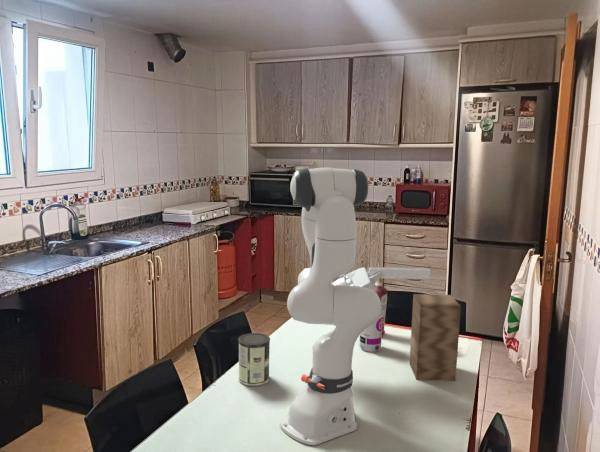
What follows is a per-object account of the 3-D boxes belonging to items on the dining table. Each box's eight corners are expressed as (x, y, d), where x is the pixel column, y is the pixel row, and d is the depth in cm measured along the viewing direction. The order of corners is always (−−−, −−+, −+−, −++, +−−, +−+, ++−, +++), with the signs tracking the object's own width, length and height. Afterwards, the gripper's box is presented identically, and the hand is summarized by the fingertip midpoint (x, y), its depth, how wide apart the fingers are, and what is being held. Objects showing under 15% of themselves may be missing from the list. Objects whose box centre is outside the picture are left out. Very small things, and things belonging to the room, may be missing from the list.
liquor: (377, 339, 201) (380, 271, 196) (363, 334, 206) (366, 268, 201) (389, 335, 205) (392, 269, 201) (375, 329, 211) (378, 265, 206)
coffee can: (256, 369, 173) (256, 330, 170) (275, 379, 165) (276, 339, 163) (231, 377, 166) (232, 337, 163) (250, 389, 158) (251, 347, 156)
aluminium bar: (369, 278, 166) (369, 269, 166) (368, 275, 169) (368, 267, 169) (429, 279, 166) (430, 270, 165) (427, 277, 169) (428, 268, 168)
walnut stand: (416, 379, 167) (420, 305, 163) (409, 363, 179) (413, 294, 174) (455, 380, 167) (460, 306, 162) (446, 364, 178) (450, 295, 174)
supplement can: (384, 347, 193) (386, 310, 191) (375, 354, 186) (377, 316, 184) (365, 342, 197) (366, 306, 195) (355, 349, 191) (357, 311, 188)
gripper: (342, 291, 158) (381, 271, 157) (339, 274, 178) (373, 256, 177) (352, 308, 159) (391, 288, 157) (347, 289, 179) (382, 271, 178)
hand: (381, 271), depth 167 cm, fingers closed on aluminium bar, 3 cm apart
